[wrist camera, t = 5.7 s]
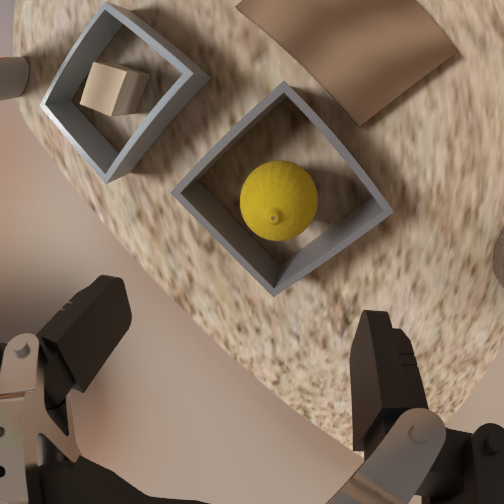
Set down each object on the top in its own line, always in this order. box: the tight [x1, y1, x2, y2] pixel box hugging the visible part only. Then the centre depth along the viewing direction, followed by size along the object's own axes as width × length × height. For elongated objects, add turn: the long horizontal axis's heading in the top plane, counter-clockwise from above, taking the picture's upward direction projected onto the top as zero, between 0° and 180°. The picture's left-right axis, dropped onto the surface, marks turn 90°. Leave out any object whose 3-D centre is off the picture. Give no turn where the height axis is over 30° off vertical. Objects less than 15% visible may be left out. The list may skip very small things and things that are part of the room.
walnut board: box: [235, 0, 458, 127], centre depth 17 cm, size 14×12×1 cm
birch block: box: [80, 62, 151, 116], centre depth 21 cm, size 4×4×4 cm
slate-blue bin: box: [40, 2, 211, 184], centre depth 21 cm, size 12×12×4 cm
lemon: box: [240, 161, 318, 241], centre depth 21 cm, size 6×6×8 cm
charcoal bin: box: [171, 81, 394, 297], centre depth 23 cm, size 12×12×4 cm
